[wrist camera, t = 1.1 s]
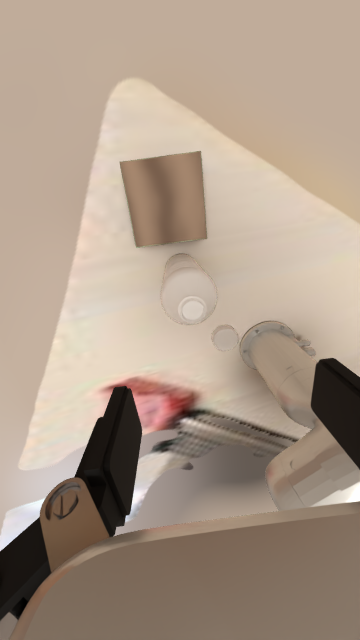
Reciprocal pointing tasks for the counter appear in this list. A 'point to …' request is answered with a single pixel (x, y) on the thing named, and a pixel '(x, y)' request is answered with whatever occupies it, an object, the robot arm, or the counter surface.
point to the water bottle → (193, 298)
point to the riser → (165, 198)
